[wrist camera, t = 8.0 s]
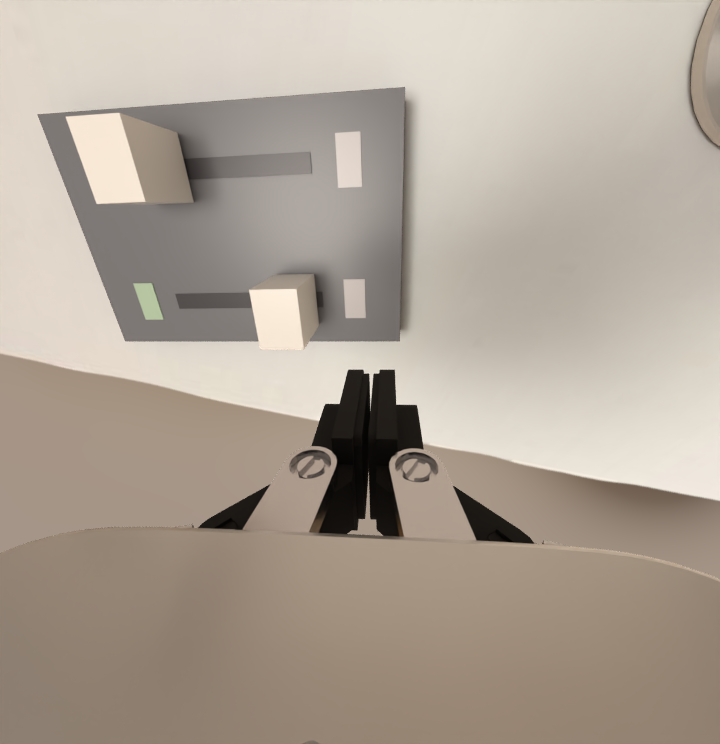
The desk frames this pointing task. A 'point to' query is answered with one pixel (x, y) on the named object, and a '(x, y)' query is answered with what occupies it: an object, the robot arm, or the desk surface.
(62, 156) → the slider switch panel
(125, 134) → the block
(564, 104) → the desk surface
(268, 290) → the white slider handle
